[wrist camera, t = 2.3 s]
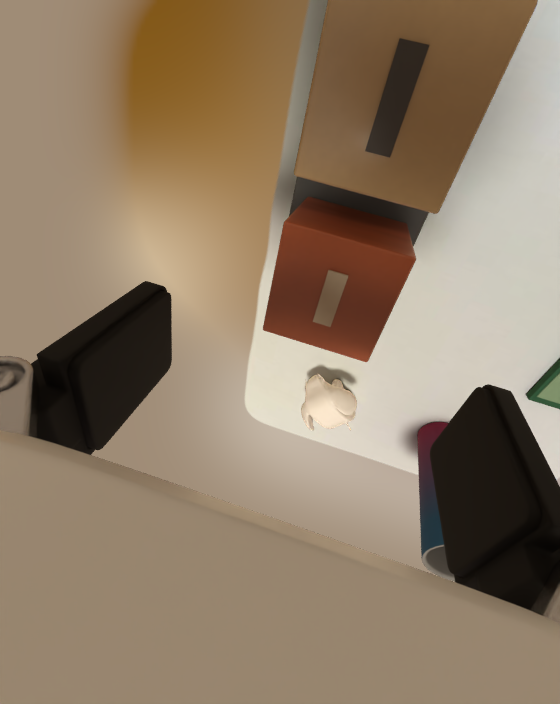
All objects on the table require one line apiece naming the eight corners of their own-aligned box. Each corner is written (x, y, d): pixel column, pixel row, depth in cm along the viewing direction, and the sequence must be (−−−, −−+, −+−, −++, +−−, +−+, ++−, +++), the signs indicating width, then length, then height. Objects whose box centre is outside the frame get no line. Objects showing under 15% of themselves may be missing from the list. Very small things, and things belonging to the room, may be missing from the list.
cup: (398, 439, 43) (406, 561, 31) (432, 407, 39) (456, 535, 27) (444, 461, 43) (469, 590, 31) (483, 432, 39) (528, 569, 27)
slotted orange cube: (307, 195, 16) (283, 221, 12) (407, 223, 16) (417, 259, 12) (286, 286, 19) (261, 331, 15) (369, 311, 19) (367, 364, 15)
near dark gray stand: (399, -114, 19) (481, -1119, 4) (512, -93, 18) (1173, -1150, 3) (310, 233, 31) (244, 344, 16) (377, 252, 30) (374, 385, 15)
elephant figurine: (335, 353, 38) (329, 386, 33) (375, 398, 40) (375, 435, 35) (292, 377, 41) (281, 410, 37) (331, 417, 44) (326, 453, 39)
